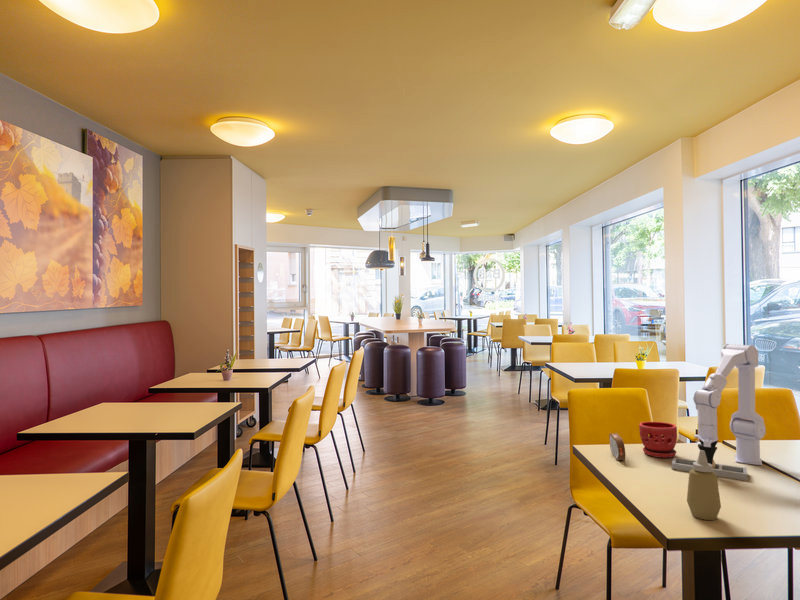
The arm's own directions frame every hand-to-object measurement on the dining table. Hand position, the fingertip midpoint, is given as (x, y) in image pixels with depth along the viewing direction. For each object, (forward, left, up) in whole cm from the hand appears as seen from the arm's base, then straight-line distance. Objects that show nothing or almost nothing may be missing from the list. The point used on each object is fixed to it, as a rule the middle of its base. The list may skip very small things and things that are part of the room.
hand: (708, 462), depth 170 cm
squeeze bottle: (+44, 0, -3) cm, 44 cm away
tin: (-1, -30, -3) cm, 30 cm away
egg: (0, 0, -2) cm, 2 cm away
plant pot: (-13, -17, -3) cm, 22 cm away
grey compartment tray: (0, 0, -3) cm, 3 cm away
